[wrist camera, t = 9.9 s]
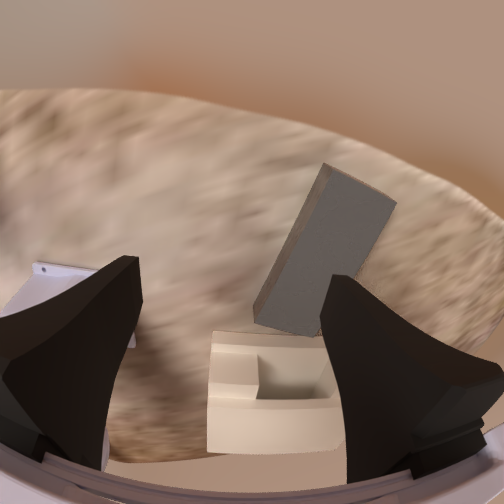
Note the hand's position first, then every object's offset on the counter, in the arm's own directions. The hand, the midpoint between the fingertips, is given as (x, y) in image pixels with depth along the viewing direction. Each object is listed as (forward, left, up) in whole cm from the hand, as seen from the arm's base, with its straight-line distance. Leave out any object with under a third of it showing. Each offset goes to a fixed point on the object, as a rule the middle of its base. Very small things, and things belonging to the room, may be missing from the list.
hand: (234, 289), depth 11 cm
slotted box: (+6, -17, -9) cm, 20 cm away
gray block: (+6, -3, -10) cm, 12 cm away
